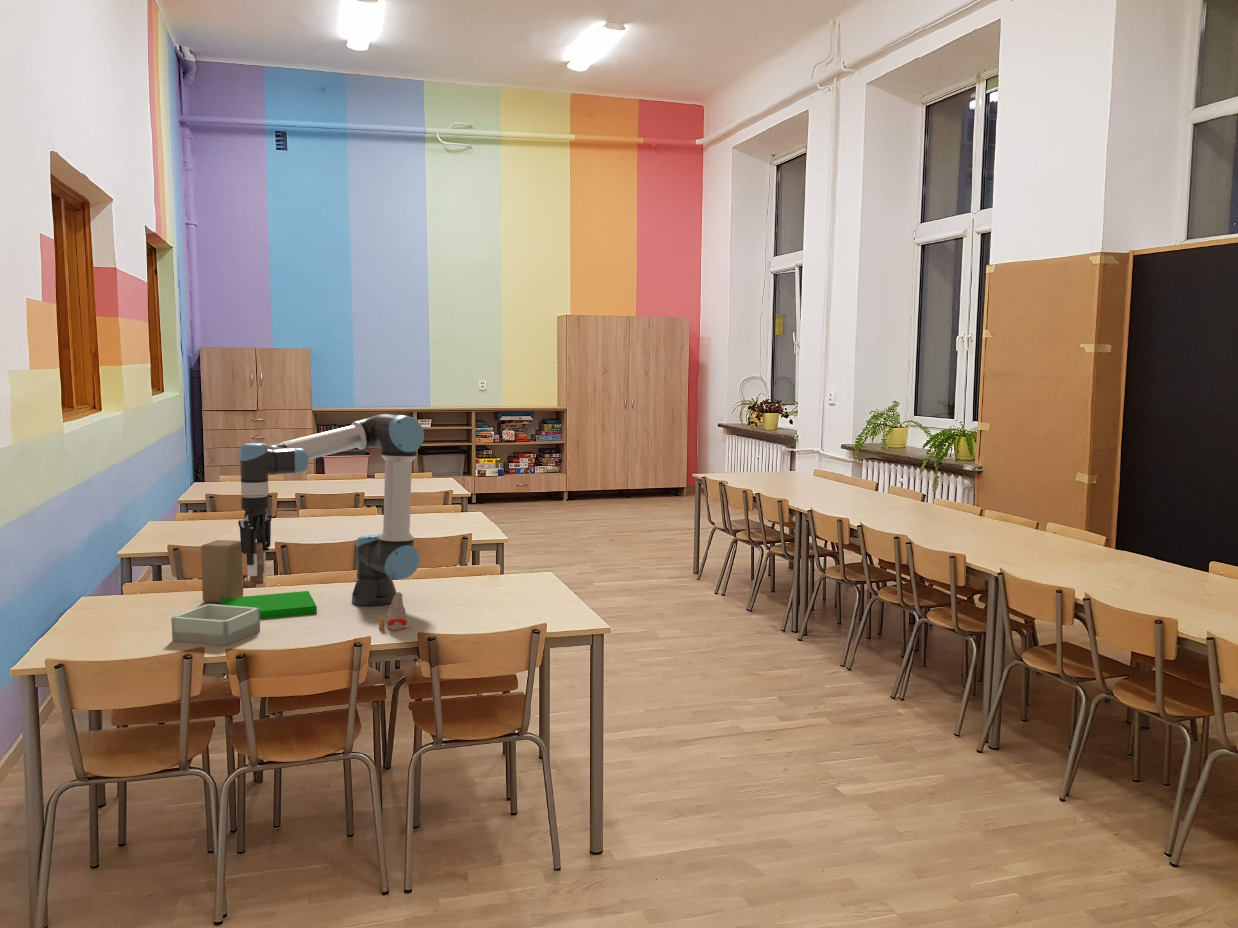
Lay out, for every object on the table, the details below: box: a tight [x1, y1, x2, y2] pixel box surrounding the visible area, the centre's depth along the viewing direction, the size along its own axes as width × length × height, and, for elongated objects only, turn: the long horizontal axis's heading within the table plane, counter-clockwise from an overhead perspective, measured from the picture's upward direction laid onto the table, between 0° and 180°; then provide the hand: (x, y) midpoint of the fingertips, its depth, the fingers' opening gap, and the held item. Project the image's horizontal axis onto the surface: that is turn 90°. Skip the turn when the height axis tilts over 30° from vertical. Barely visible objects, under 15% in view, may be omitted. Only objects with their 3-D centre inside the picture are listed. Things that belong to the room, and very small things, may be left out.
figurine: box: [378, 591, 410, 631], centre depth 282 cm, size 9×7×12 cm
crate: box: [170, 603, 261, 647], centre depth 272 cm, size 18×16×7 cm
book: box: [220, 590, 318, 620], centre depth 302 cm, size 22×28×3 cm
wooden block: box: [200, 539, 244, 604], centre depth 313 cm, size 10×10×20 cm
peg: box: [249, 541, 264, 586], centre depth 271 cm, size 4×4×12 cm
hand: (256, 573), depth 272 cm, fingers closed on peg, 3 cm apart
